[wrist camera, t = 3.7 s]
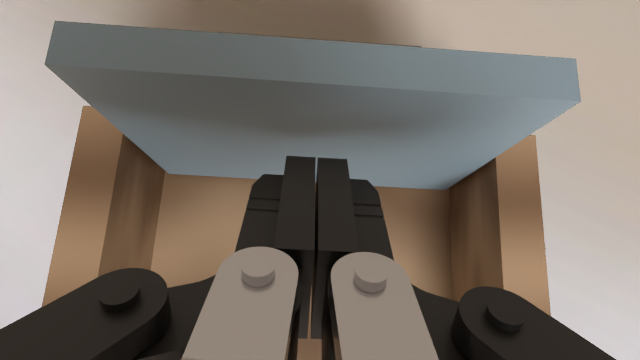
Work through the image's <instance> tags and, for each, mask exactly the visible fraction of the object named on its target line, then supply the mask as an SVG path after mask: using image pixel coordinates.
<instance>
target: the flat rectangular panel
mask: <svg viewBox="0 0 640 360" xmlns="http://www.w3.org/2000/svg"><path fill="white" fill-rule="evenodd" d="M45 65H46V66H47V67H48V68H49V69H50V70H51V71H53V72H54V73H55V74H56V75H57V76H58V77H59V78H60V79H62V80H63V81H64V82H65V83H66V84H67V85H68V86H70V87H71V88H72V89H73V90H74V91H75V92H76V93H78V94H79V95H80V96H81V97H82V98H83V99H84V100H86V101H87V102H88V103H89V104H90V105H91V106H92V107H93V108H95V109H96V110H97V111H98V112H99V113H100V114H101V115H103V116H104V117H105V118H106V119H107V120H108V121H109V122H111V123H112V124H113V125H114V126H115V127H116V128H117V129H119V130H120V131H121V132H122V133H123V134H124V135H125V136H126V137H128V138H129V139H130V140H131V141H132V142H133V143H134V144H136V145H137V146H138V147H139V148H140V149H141V150H142V151H144V152H145V153H146V154H147V155H148V156H149V157H150V158H152V159H153V160H154V161H155V162H156V163H157V164H158V165H159V166H161V167H162V168H163V169H164V170H165V171H166V172H167V173H169V174H182V175H199V176H215V177H232V178H249V179H259V178H260V177H261V176H262V175H263V174H274V175H284V170H285V163H286V156H302V157H316V166H315V182H316V174H317V162H318V157H320V158H337V159H347V161H348V169H349V177H350V179H362V180H368V181H369V182H370V183H371V184H372V185H373V186H383V187H399V188H416V189H433V190H446V189H448V188H449V187H451V186H452V185H454V184H456V183H457V182H459V181H460V180H462V179H463V178H465V177H466V176H468V175H469V174H471V173H472V172H474V171H475V170H477V169H478V168H480V167H481V166H483V165H485V164H486V163H488V162H489V161H491V160H492V159H494V158H495V157H497V156H498V155H500V154H501V153H503V152H504V151H506V150H507V149H509V148H510V147H512V146H514V145H515V144H517V143H518V142H520V141H521V140H523V139H524V138H526V137H527V136H529V135H530V134H532V133H533V132H535V131H536V130H538V129H539V128H541V127H543V126H544V125H546V124H547V123H549V122H550V121H552V120H553V119H555V118H556V117H558V116H559V115H561V114H562V113H564V112H565V111H567V110H568V109H570V108H572V107H573V106H575V105H576V104H578V103H579V102H581V99H580V90H579V81H578V73H577V64H576V59H573V58H559V57H545V56H531V55H517V54H504V53H490V52H476V51H462V50H449V49H435V48H422V47H420V46H406V45H392V44H378V43H365V42H351V41H337V40H323V39H310V38H296V37H282V36H268V35H255V34H241V33H227V32H217V33H215V32H201V31H187V30H174V29H160V28H146V27H132V26H119V25H105V24H91V23H77V22H64V21H55V23H54V27H53V31H52V35H51V40H50V44H49V48H48V52H47V57H46V61H45Z"/></svg>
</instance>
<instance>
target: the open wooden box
mask: <svg viewBox="0 0 640 360" xmlns="http://www.w3.org/2000/svg"><path fill="white" fill-rule="evenodd" d="M257 180H258V179H249V178H232V177H215V176H199V175H182V174H169V173H167V172H166V171H165V170H164V169H163V168H162V167H161V166H159V165H158V164H157V163H156V162H155V161H154V160H153V159H152V158H150V157H149V156H148V155H147V154H146V153H145V152H144V151H142V150H141V149H140V148H139V147H138V146H137V145H136V144H134V143H133V142H132V141H131V140H130V139H129V138H128V137H126V136H125V135H124V134H123V133H122V132H121V131H120V130H119V129H117V128H116V127H115V126H114V125H113V124H112V123H111V122H109V121H108V120H107V119H106V118H105V117H104V116H103V115H101V114H100V113H99V112H98V111H97V110H96V109H95V108H93V107H92V106H83V109H82V114H81V119H80V124H79V129H78V133H77V138H76V143H75V148H74V153H73V158H72V163H71V167H70V172H69V177H68V182H67V187H66V192H65V197H64V202H63V206H62V211H61V216H60V221H59V226H58V231H57V236H56V240H55V245H54V250H53V255H52V260H51V265H50V270H49V274H48V279H47V284H46V289H45V294H44V299H43V304H42V307H43V306H45V305H47V304H49V303H51V302H53V301H54V300H56V299H58V298H60V297H62V296H64V295H66V294H67V293H69V292H71V291H73V290H75V289H77V288H79V287H80V286H82V285H84V284H86V283H88V282H90V281H92V280H94V279H95V278H97V277H99V276H101V275H104V274H106V273H109V272H112V271H115V270H119V269H125V268H143V269H148V270H151V271H153V272H156V273H157V274H159V275H160V276H161V277H162V278H163V279H164V280H165V282H166V284H167V288H169V287H174V286H179V285H185V284H190V283H195V282H199V281H202V280H205V279H208V278H210V277H212V276H214V275H216V273H217V271H218V268H219V267H220V265H221V263H222V262H223V261H224V260H225V259H226V258H227V257H228V256H230V255H231V254H233V253H234V252H235V249H236V245H237V241H238V237H239V234H240V230H241V226H242V222H243V218H244V215H245V211H246V207H247V203H248V200H249V195H250V192H251V188H252V184H253V183H255V182H256V181H257ZM373 187H374V188H375V189H376V190H377V191H378V193H379V197H380V201H381V208H382V210H383V214H384V219H385V223H386V227H387V232H388V236H389V240H390V245H391V249H392V253H393V258H394V261H395V262H397V263H398V264H399V265H400V266H401V267H402V268H403V269H404V270H405V271H406V273H407V275H408V277H409V279H410V282H411V284H413V285H414V286H416V287H418V288H419V289H422V290H424V291H426V292H429V293H431V294H434V295H438V296H441V297H444V298H448V299H451V300H455V301H458V302H460V299H461V297H462V296H463V294H465V293H466V292H467V291H468V290H470V289H473V288H476V287H482V286H490V287H497V288H501V289H505V290H507V291H510V292H513V293H515V294H517V295H519V296H521V297H522V298H524V299H526V300H527V301H529V302H530V303H532V304H533V305H535V306H536V307H538V308H539V309H541V310H542V311H544V312H545V313H547V314H548V315H550V316H551V313H550V302H549V290H548V278H547V266H546V255H545V243H544V231H543V219H542V208H541V196H540V184H539V172H538V161H537V149H536V137H535V135H529V136H527V137H526V138H524V139H523V140H521V141H520V142H518V143H517V144H515V145H514V146H512V147H510V148H509V149H507V150H506V151H504V152H503V153H501V154H500V155H498V156H497V157H495V158H494V159H492V160H491V161H489V162H488V163H486V164H485V165H483V166H481V167H480V168H478V169H477V170H475V171H474V172H472V173H471V174H469V175H468V176H466V177H465V178H463V179H462V180H460V181H459V182H457V183H456V184H454V185H452V186H451V187H449V188H448V189H446V190H433V189H416V188H399V187H383V186H373ZM315 188H316V182H315ZM311 291H312V286H311ZM321 357H322V340H321V339H311V299H310V311H309V324H308V336H307V339H301V338H298V352H297V360H321Z"/></svg>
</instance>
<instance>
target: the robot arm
mask: <svg viewBox="0 0 640 360" xmlns="http://www.w3.org/2000/svg"><path fill="white" fill-rule="evenodd" d="M315 166H316V157H302V156H286V163H285V170H284V175H274V174H263V175H262V176H261V177H260V178H259V179H258V180H257V181H256V182H255V183H253V184H252V188H251V192H250V195H249V200H248V203H247V207H246V211H245V215H244V218H243V222H242V226H241V230H240V234H239V237H238V241H237V245H236V249H235V252H234V253H233V254H231V255H230V256H228V257H227V258H226V259H225V260H224V261H223V262H222V263H221V265H220V267H219V268H218V271H217V273H216V275H214V276H212V277H210V278H208V279H205V280H202V281H199V282H195V283H190V284H185V285H179V286H174V287H169V288H167V284H166V282H165V280H164V279H163V278H162V277H161V276H160V275H159V274H157V273H156V272H153V271H151V270H148V269H143V268H125V269H119V270H115V271H112V272H109V273H106V274H104V275H101V276H99V277H97V278H95V279H94V280H92V281H90V282H88V283H86V284H84V285H82V286H80V287H79V288H77V289H75V290H73V291H71V292H69V293H67V294H66V295H64V296H62V297H60V298H58V299H56V300H54V301H53V302H51V303H49V304H47V305H45V306H43V307H41V308H39V309H38V310H36V311H34V312H32V313H30V314H28V315H26V316H25V317H23V318H21V319H19V320H17V321H15V322H13V323H12V324H10V325H8V326H6V327H4V328H2V329H0V360H297V352H298V338H301V339H307V336H308V324H309V311H310V299H311V339H321V340H322V357H321V360H616V359H614V358H613V357H611V356H610V355H608V354H607V353H605V352H604V351H602V350H601V349H599V348H598V347H596V346H595V345H593V344H592V343H590V342H589V341H587V340H586V339H584V338H583V337H581V336H580V335H578V334H577V333H575V332H574V331H572V330H571V329H569V328H568V327H566V326H565V325H563V324H562V323H560V322H559V321H557V320H556V319H554V318H553V317H551V316H550V315H548V314H547V313H545V312H544V311H542V310H541V309H539V308H538V307H536V306H535V305H533V304H532V303H530V302H529V301H527V300H526V299H524V298H522V297H521V296H519V295H517V294H515V293H513V292H510V291H507V290H505V289H501V288H497V287H490V286H482V287H476V288H473V289H470V290H468V291H467V292H466V293H465V294H463V296H462V297H461V299H460V302H458V301H455V300H451V299H448V298H444V297H441V296H438V295H434V294H431V293H429V292H426V291H424V290H422V289H419V288H418V287H416V286H414V285H413V284H411V282H410V279H409V277H408V275H407V273H406V271H405V270H404V269H403V268H402V267H401V266H400V265H399V264H398V263H397V262H395V261H394V258H393V253H392V249H391V245H390V240H389V236H388V232H387V227H386V223H385V219H384V214H383V210H382V208H381V201H380V197H379V193H378V191H377V190H376V189H375V188H374V187H373V185H372V184H371V183H370V182H369V181H368V180H362V179H350V177H349V169H348V161H347V159H337V158H320V157H318V162H317V174H316V188H315ZM311 286H312V291H311Z"/></svg>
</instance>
